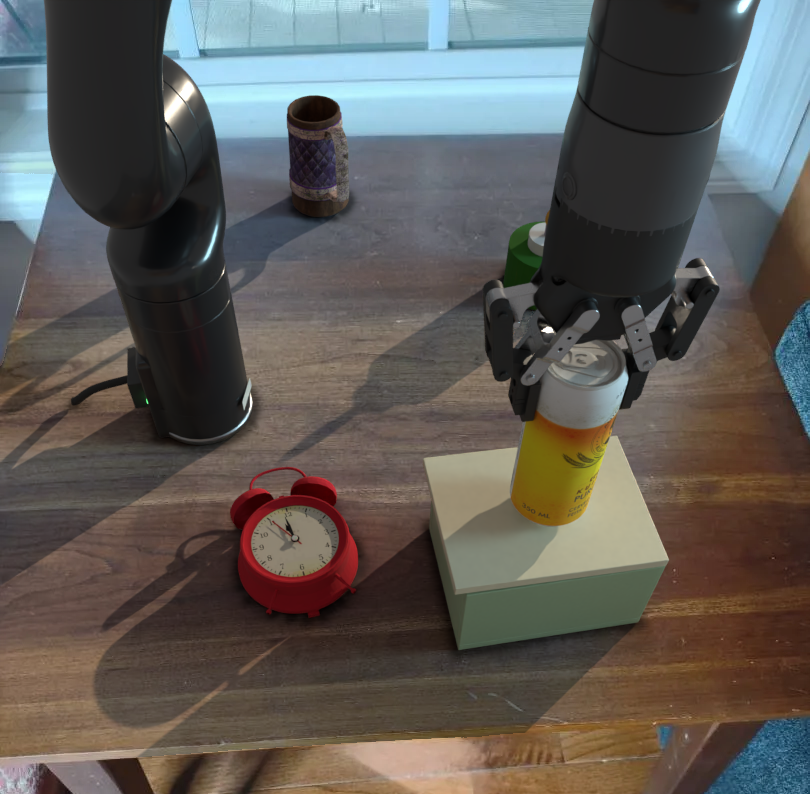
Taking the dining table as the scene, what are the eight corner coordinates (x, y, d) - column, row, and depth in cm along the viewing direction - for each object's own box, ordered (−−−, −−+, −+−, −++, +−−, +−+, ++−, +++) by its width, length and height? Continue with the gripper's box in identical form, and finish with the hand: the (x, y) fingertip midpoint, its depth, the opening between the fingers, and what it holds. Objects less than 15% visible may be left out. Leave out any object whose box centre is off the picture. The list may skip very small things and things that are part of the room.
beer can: (583, 538, 65) (629, 399, 53) (503, 524, 66) (530, 384, 53) (589, 477, 68) (634, 332, 56) (513, 464, 69) (541, 318, 57)
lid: (454, 595, 64) (455, 589, 63) (422, 464, 71) (423, 457, 70) (666, 566, 66) (669, 560, 65) (614, 441, 73) (616, 435, 72)
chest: (458, 650, 71) (466, 595, 64) (428, 527, 78) (433, 465, 71) (638, 622, 73) (666, 566, 66) (593, 504, 80) (614, 442, 73)
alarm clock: (249, 619, 68) (209, 455, 73) (255, 640, 74) (218, 487, 79) (375, 587, 70) (328, 429, 75) (371, 610, 76) (328, 462, 81)
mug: (282, 194, 106) (271, 97, 96) (334, 178, 108) (329, 83, 98) (317, 240, 101) (309, 144, 91) (371, 223, 103) (369, 127, 93)
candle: (488, 280, 98) (497, 202, 89) (542, 253, 101) (556, 175, 92) (536, 321, 94) (551, 243, 86) (591, 291, 97) (611, 213, 89)
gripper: (732, 129, 47) (653, 356, 61) (477, 151, 46) (455, 379, 60) (790, 212, 43) (692, 435, 57) (511, 239, 42) (480, 462, 55)
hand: (571, 405), depth 58 cm, fingers closed on beer can, 6 cm apart
